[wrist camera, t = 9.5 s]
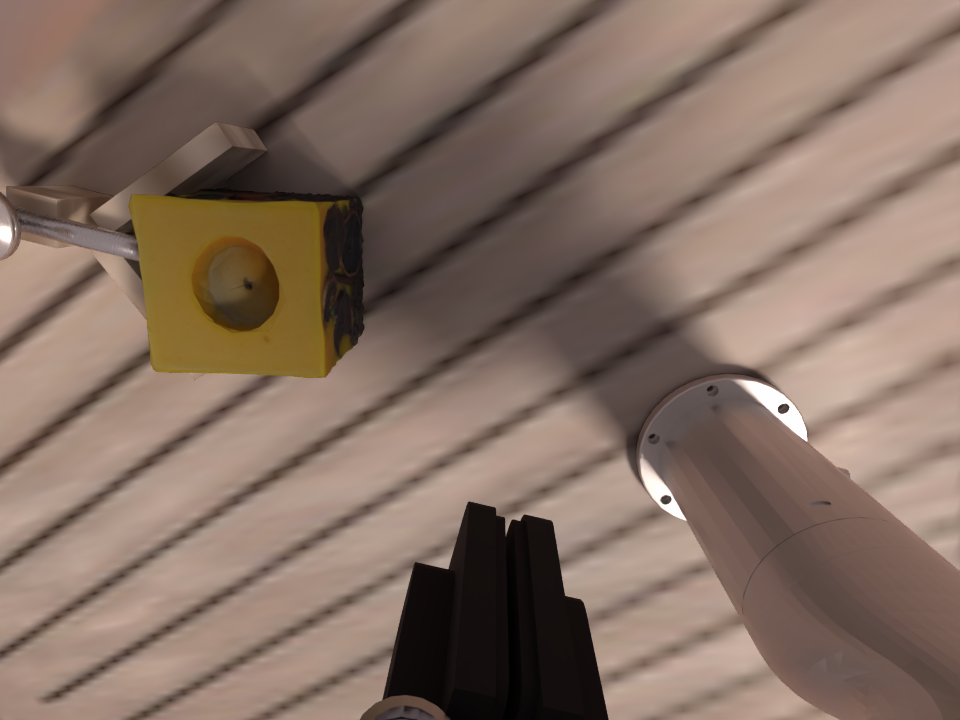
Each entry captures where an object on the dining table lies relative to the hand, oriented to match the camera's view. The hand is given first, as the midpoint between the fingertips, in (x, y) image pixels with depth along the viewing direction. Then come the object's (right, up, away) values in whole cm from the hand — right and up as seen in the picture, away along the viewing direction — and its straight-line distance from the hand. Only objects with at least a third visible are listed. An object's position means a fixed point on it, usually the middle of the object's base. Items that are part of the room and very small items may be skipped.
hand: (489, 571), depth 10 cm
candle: (-13, +11, +28) cm, 33 cm away
